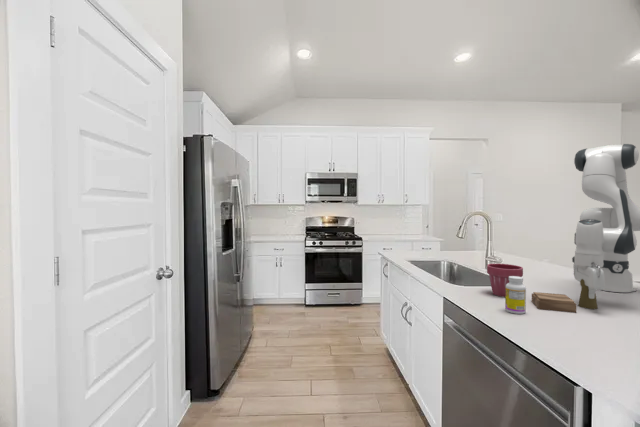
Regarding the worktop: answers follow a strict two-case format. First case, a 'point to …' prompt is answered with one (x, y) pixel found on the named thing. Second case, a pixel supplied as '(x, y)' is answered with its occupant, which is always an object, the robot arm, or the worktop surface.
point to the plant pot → (502, 276)
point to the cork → (586, 298)
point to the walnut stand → (553, 302)
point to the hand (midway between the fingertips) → (588, 296)
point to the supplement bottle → (515, 295)
